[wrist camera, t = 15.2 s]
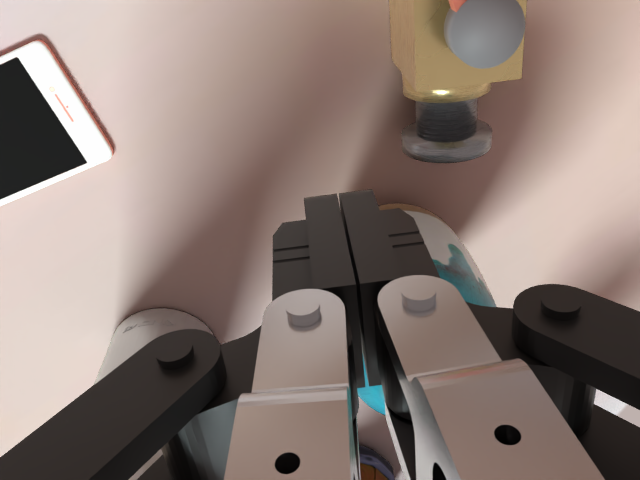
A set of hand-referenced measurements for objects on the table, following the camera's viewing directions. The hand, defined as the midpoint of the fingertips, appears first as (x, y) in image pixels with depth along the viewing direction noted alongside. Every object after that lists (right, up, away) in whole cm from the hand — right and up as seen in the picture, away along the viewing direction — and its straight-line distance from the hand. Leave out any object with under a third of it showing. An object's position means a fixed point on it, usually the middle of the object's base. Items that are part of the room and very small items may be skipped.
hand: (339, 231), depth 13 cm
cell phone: (-25, +7, +29) cm, 39 cm away
